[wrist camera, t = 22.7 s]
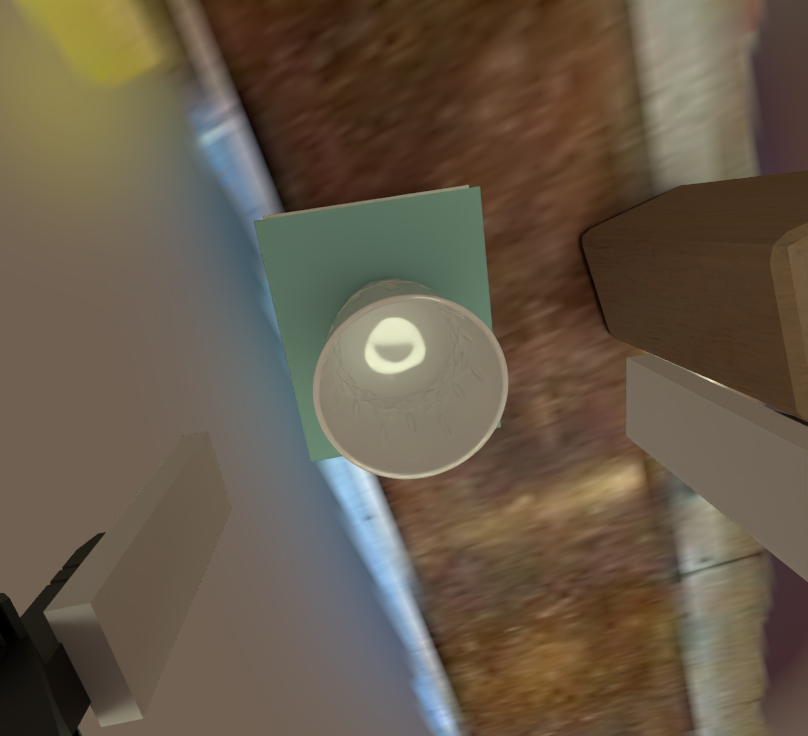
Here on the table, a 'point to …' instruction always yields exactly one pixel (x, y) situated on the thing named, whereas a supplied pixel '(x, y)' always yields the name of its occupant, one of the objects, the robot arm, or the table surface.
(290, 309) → the lid
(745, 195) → the block
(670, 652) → the table surface
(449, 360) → the white cup
